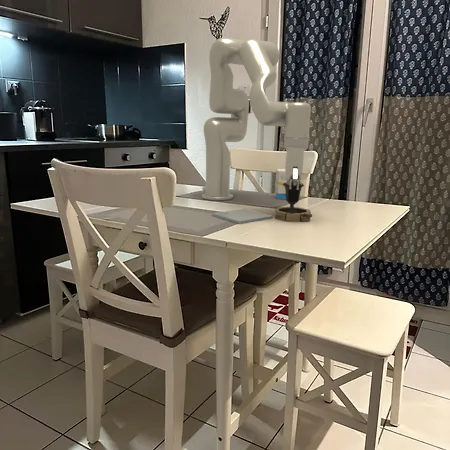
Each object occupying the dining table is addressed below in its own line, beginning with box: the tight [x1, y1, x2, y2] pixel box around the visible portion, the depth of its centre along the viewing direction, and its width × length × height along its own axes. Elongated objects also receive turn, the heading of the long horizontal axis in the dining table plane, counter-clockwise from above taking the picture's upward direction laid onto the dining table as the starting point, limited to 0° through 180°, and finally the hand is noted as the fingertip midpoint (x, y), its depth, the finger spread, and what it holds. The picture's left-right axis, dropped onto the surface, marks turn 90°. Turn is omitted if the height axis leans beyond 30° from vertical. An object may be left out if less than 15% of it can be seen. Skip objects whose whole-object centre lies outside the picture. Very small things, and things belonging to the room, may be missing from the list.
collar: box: [274, 206, 313, 223], centre depth 141 cm, size 15×11×2 cm
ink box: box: [274, 168, 289, 201], centre depth 177 cm, size 9×8×12 cm
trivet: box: [211, 208, 274, 225], centre depth 141 cm, size 14×14×1 cm
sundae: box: [283, 178, 305, 213], centre depth 139 cm, size 7×7×15 cm
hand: (292, 199), depth 140 cm, fingers closed on sundae, 6 cm apart
